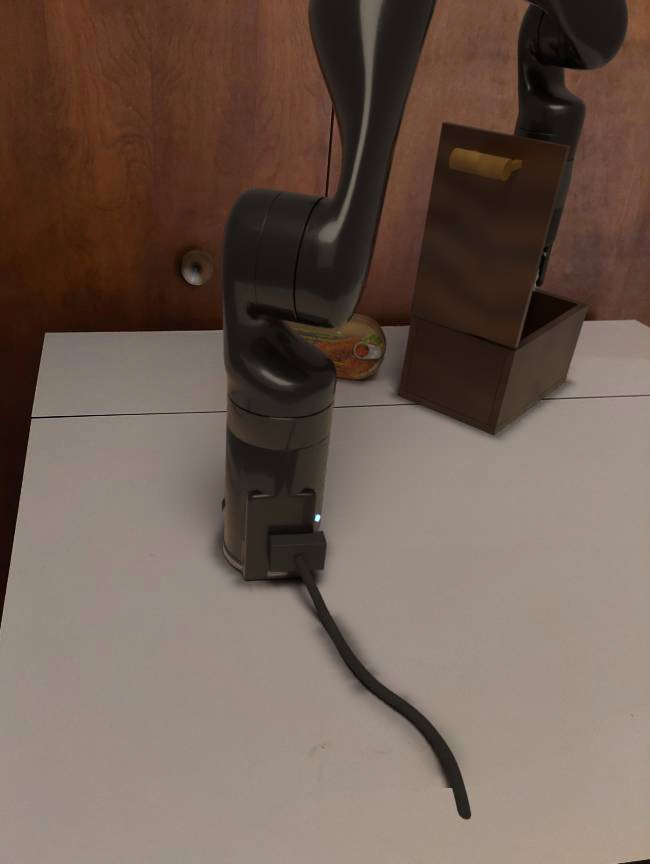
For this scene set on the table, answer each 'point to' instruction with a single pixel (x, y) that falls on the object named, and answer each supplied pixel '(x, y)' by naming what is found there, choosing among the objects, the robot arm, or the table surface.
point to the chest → (491, 364)
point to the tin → (349, 345)
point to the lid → (486, 229)
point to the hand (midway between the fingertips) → (499, 331)
